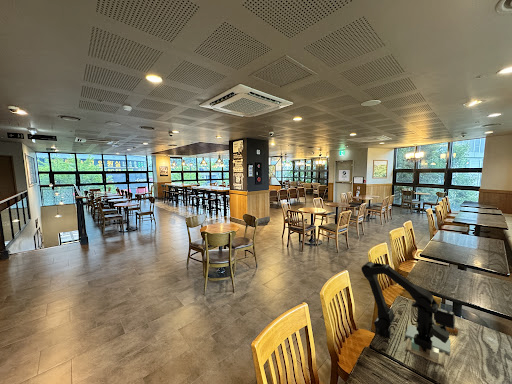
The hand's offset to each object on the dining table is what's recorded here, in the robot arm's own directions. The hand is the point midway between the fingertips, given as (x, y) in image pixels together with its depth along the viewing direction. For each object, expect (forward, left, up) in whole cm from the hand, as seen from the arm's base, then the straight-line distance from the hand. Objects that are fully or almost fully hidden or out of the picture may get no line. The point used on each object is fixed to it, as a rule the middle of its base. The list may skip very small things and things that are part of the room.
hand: (424, 349), depth 99 cm
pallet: (0, 0, -3) cm, 3 cm away
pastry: (+6, +28, -4) cm, 29 cm away
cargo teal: (-3, 0, -1) cm, 4 cm away
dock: (0, +11, -3) cm, 11 cm away
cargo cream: (+4, 0, -1) cm, 4 cm away
